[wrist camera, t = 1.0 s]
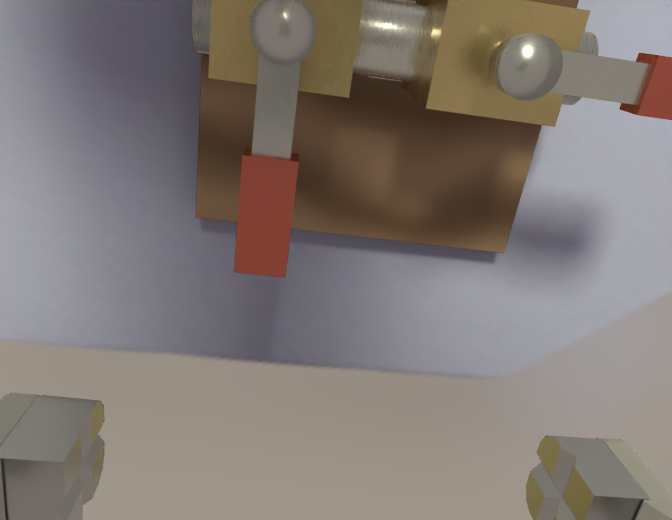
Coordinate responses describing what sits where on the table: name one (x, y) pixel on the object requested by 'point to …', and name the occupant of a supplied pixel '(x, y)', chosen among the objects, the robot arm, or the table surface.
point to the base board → (375, 163)
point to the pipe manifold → (449, 55)
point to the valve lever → (272, 138)
